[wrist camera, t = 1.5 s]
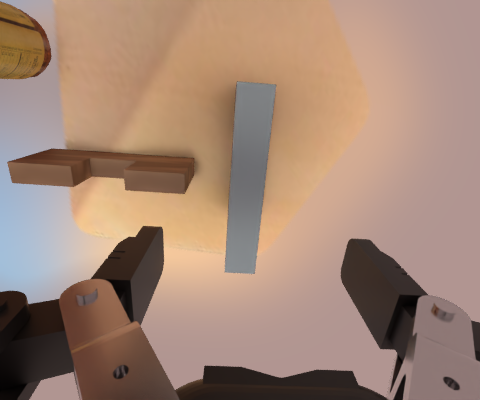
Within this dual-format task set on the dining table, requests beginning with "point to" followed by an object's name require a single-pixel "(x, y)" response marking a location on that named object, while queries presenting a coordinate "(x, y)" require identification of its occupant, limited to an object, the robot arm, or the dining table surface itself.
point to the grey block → (248, 173)
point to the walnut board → (104, 169)
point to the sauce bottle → (21, 45)
